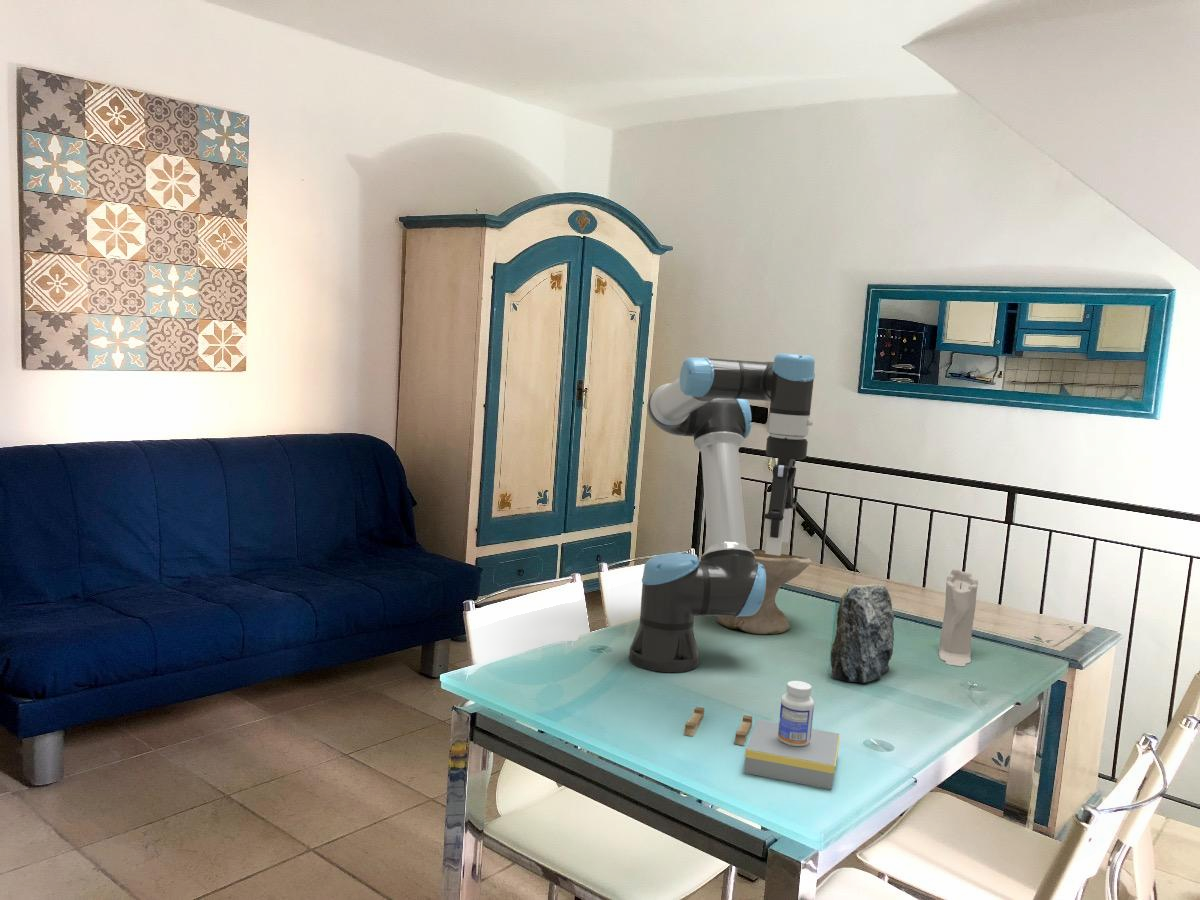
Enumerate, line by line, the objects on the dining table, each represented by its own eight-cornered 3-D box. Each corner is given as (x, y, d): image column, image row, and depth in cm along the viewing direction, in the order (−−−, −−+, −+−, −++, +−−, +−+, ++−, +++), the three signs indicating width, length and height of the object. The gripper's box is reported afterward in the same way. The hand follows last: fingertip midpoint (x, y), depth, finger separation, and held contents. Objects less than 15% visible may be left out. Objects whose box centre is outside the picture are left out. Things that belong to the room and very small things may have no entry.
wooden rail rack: (684, 734, 173) (684, 725, 173) (695, 715, 183) (696, 706, 183) (743, 745, 170) (744, 735, 170) (751, 725, 180) (752, 716, 180)
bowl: (819, 624, 251) (826, 548, 249) (782, 646, 230) (790, 563, 228) (727, 605, 265) (734, 532, 263) (685, 624, 243) (692, 545, 241)
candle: (939, 663, 226) (948, 578, 223) (938, 647, 239) (947, 566, 237) (972, 668, 223) (981, 583, 221) (970, 652, 236) (979, 571, 234)
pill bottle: (787, 731, 168) (792, 676, 167) (816, 741, 164) (821, 685, 163) (771, 739, 164) (776, 683, 162) (800, 750, 160) (806, 692, 159)
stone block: (859, 689, 204) (869, 595, 202) (823, 676, 211) (831, 586, 208) (903, 672, 217) (913, 585, 215) (868, 661, 223) (876, 576, 221)
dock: (743, 772, 159) (745, 749, 159) (755, 740, 173) (757, 719, 172) (832, 790, 155) (835, 765, 155) (837, 755, 169) (840, 733, 168)
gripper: (801, 443, 170) (790, 563, 173) (813, 433, 194) (803, 538, 197) (758, 439, 173) (747, 557, 175) (775, 430, 196) (766, 534, 199)
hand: (777, 547), depth 186 cm, fingers open, 13 cm apart
